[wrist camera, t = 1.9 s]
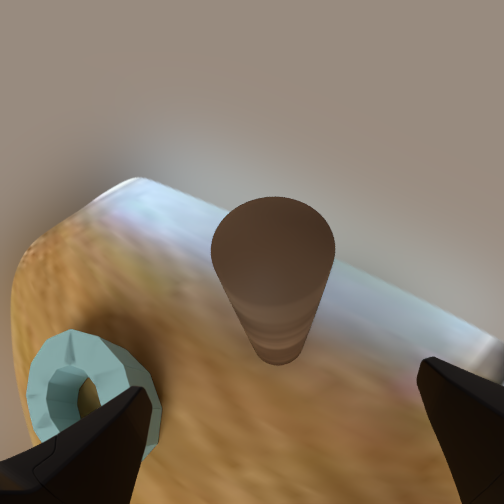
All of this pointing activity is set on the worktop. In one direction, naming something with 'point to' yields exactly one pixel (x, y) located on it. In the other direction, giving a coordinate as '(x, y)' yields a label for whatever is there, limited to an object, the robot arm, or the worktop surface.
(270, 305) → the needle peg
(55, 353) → the bead
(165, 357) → the worktop surface
